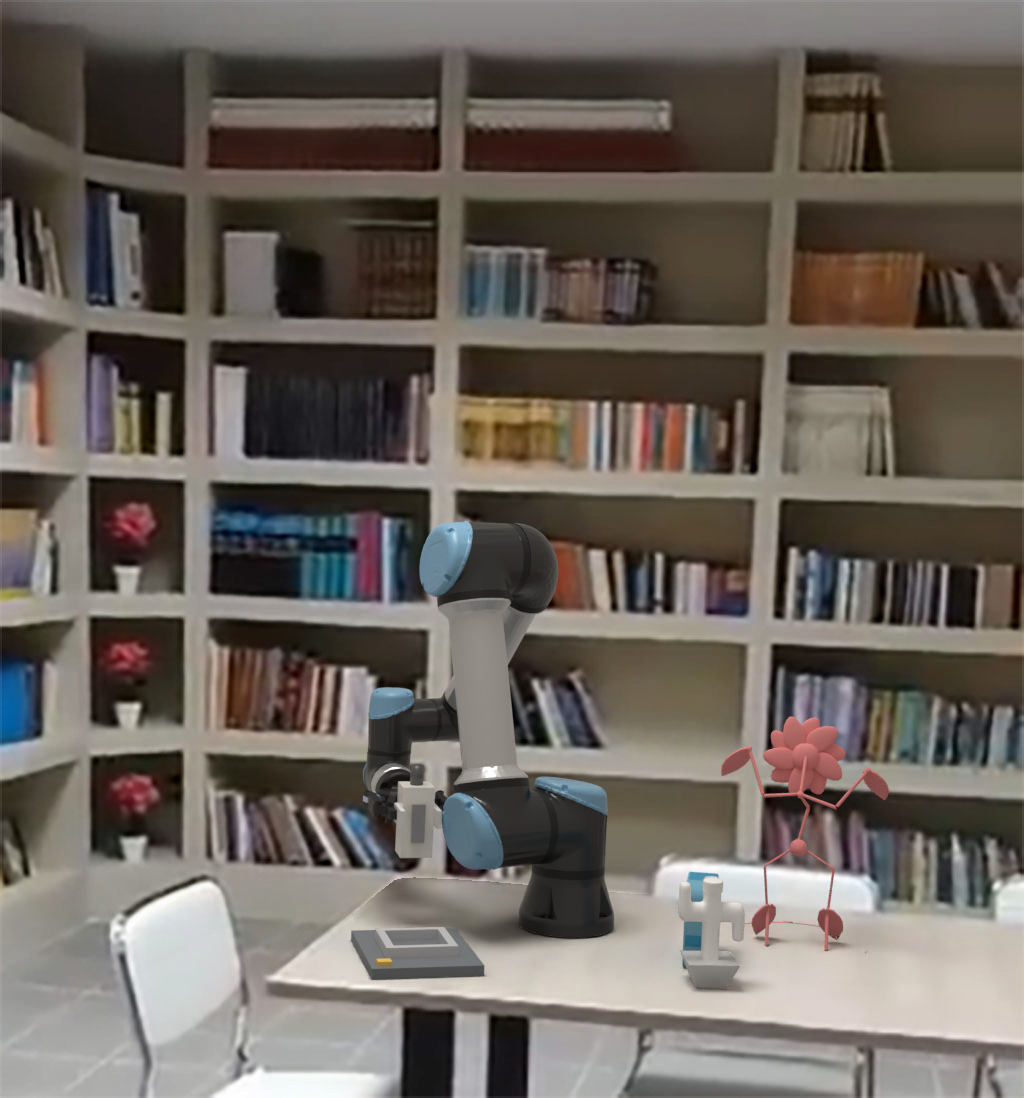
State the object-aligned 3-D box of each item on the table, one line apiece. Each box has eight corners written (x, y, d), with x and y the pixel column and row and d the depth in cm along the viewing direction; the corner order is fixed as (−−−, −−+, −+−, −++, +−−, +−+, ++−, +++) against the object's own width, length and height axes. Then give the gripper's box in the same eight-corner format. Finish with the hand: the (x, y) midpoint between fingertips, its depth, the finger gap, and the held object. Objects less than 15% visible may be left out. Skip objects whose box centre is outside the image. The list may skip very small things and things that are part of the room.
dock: (455, 937, 253) (455, 918, 253) (484, 975, 233) (484, 954, 233) (351, 940, 249) (351, 920, 249) (371, 979, 230) (372, 958, 229)
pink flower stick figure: (883, 957, 251) (893, 728, 250) (712, 943, 255) (722, 717, 254) (877, 931, 266) (887, 715, 265) (716, 918, 271) (725, 705, 269)
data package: (713, 971, 240) (716, 889, 240) (681, 969, 241) (685, 887, 240) (715, 949, 252) (718, 871, 252) (685, 947, 253) (689, 869, 252)
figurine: (746, 991, 231) (751, 885, 230) (680, 990, 230) (684, 883, 230) (735, 976, 238) (740, 873, 238) (671, 975, 237) (675, 871, 237)
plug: (426, 850, 262) (430, 762, 262) (433, 858, 257) (437, 769, 256) (395, 850, 261) (398, 762, 260) (401, 859, 255) (405, 769, 255)
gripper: (448, 812, 279) (477, 843, 256) (342, 812, 274) (361, 844, 252) (450, 768, 278) (479, 795, 256) (344, 767, 274) (363, 795, 251)
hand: (421, 819), depth 254 cm, fingers closed on plug, 5 cm apart
